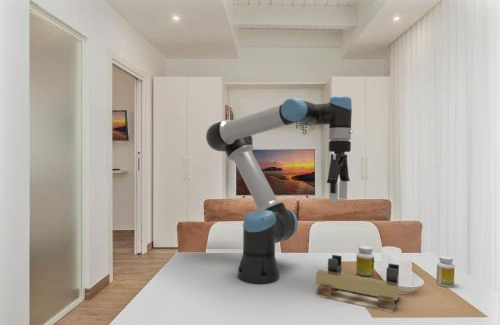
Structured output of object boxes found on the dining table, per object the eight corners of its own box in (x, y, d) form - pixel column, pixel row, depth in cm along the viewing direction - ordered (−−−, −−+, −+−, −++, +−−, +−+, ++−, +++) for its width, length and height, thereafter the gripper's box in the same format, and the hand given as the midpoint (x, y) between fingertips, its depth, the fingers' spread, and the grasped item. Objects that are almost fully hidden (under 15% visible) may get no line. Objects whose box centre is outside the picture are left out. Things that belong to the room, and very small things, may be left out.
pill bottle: (374, 280, 122) (375, 250, 122) (357, 279, 124) (357, 248, 124) (372, 275, 129) (373, 245, 128) (355, 273, 130) (355, 244, 130)
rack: (325, 290, 113) (326, 258, 113) (330, 284, 118) (331, 254, 118) (398, 304, 102) (399, 270, 102) (399, 297, 108) (400, 265, 107)
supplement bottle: (432, 282, 122) (433, 255, 121) (444, 281, 123) (444, 254, 123) (446, 288, 117) (447, 260, 116) (457, 286, 118) (458, 258, 118)
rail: (316, 284, 110) (316, 271, 110) (318, 281, 112) (319, 269, 112) (397, 300, 98) (397, 286, 98) (398, 296, 101) (398, 283, 101)
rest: (317, 296, 107) (317, 286, 107) (323, 289, 114) (323, 280, 114) (392, 312, 97) (392, 302, 97) (394, 303, 103) (395, 293, 103)
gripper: (342, 138, 107) (340, 205, 108) (357, 142, 129) (356, 198, 130) (318, 138, 111) (317, 203, 111) (337, 142, 133) (336, 196, 133)
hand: (338, 200), depth 121 cm, fingers open, 13 cm apart
